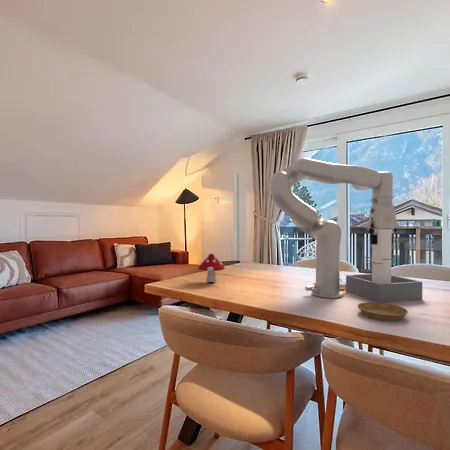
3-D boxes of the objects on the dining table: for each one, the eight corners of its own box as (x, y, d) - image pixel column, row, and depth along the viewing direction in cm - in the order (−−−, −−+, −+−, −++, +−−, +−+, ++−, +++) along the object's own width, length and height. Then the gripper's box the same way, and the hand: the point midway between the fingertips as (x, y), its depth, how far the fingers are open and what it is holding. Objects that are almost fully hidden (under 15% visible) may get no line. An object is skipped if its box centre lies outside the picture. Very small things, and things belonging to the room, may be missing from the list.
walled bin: (379, 302, 111) (379, 284, 111) (346, 290, 130) (346, 275, 130) (422, 299, 116) (422, 281, 116) (383, 288, 135) (383, 273, 135)
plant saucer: (348, 310, 103) (348, 303, 102) (383, 307, 106) (383, 300, 106) (379, 325, 88) (379, 316, 88) (419, 321, 91) (419, 313, 91)
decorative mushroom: (222, 286, 140) (222, 255, 140) (194, 285, 142) (194, 254, 142) (226, 280, 154) (226, 252, 154) (201, 279, 156) (201, 251, 156)
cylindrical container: (393, 290, 119) (394, 229, 118) (374, 289, 120) (375, 229, 120) (387, 286, 126) (388, 228, 125) (369, 285, 127) (370, 228, 127)
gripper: (371, 200, 117) (370, 245, 117) (406, 201, 121) (406, 244, 121) (358, 202, 124) (357, 243, 124) (392, 202, 128) (391, 243, 129)
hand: (381, 243), depth 123 cm, fingers closed on cylindrical container, 7 cm apart
